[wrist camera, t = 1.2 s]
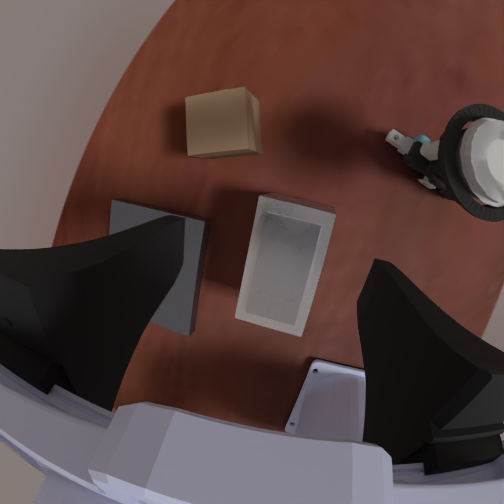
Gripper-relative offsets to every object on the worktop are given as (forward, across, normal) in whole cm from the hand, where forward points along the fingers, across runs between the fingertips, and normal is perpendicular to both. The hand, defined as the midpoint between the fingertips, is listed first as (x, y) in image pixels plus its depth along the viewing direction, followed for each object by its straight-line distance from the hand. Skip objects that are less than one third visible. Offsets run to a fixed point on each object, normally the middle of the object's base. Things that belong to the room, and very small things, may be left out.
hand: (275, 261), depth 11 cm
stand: (+10, +10, +9) cm, 17 cm away
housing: (+10, -1, +5) cm, 11 cm away
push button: (+11, -9, -4) cm, 15 cm away
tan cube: (+13, +5, -3) cm, 14 cm away
